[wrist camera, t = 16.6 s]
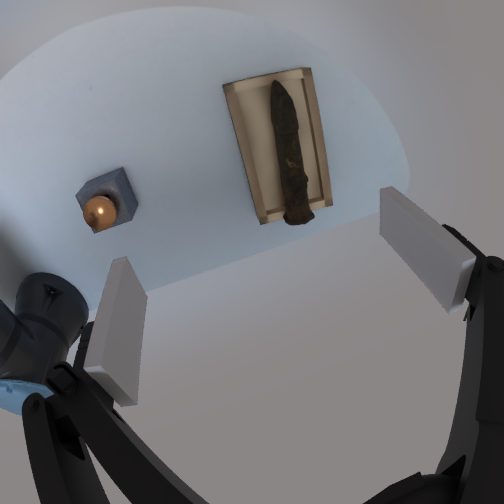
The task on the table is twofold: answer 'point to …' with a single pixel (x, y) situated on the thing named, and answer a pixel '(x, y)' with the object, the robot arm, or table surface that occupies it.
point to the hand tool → (289, 156)
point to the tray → (264, 145)
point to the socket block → (111, 194)
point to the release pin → (100, 212)
